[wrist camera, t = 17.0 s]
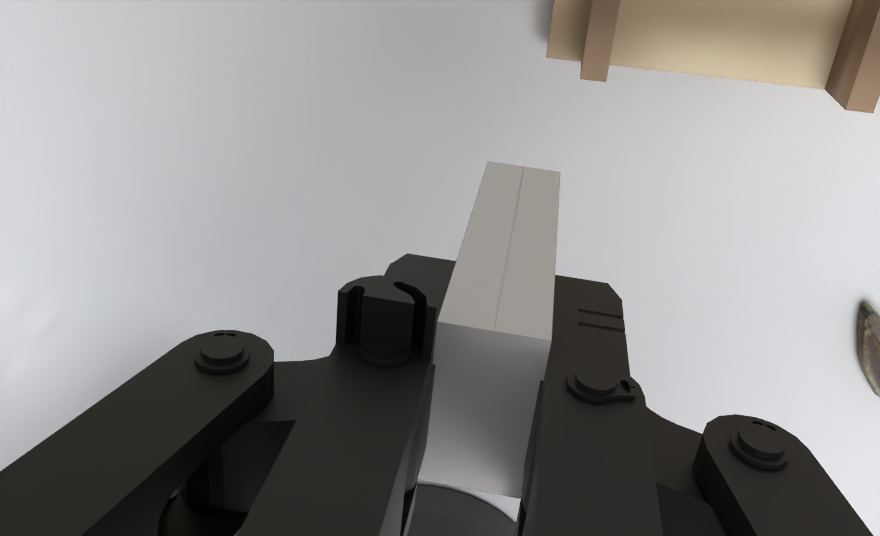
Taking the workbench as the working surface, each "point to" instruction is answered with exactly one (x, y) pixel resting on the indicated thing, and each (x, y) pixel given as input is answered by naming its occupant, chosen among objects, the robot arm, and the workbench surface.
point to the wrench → (869, 346)
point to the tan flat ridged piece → (729, 41)
